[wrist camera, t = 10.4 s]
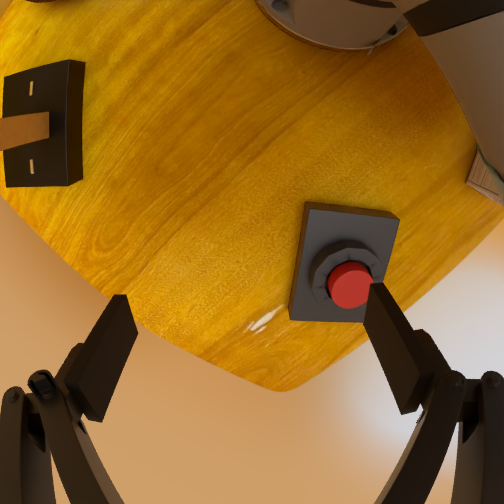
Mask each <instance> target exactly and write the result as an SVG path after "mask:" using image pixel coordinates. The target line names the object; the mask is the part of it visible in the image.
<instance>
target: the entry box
mask: <svg viewBox="0 0 504 504" xmlns="http://www.w3.org/2000/svg"><path fill="white" fill-rule="evenodd" d="M399 222H400V219H398V218H397V217H396V216H395V215H394V214H392V213H391V212H385V211H378V210H371V209H363V208H356V207H348V206H340V205H331V204H323V203H314V202H305V208H304V214H303V221H302V228H301V234H300V241H299V247H298V253H297V259H296V265H295V271H294V277H293V283H292V288H291V294H290V300H289V305H288V311H289V318H290V320H296V321H320V322H360V323H364V317H365V312H366V306H367V301H366V302H365V303H364V304H362V305H360V306H358V307H355V308H349V309H348V308H342V307H340V306H338V305H337V304H335V302H334V301H333V299H332V297H331V294H330V291H329V289H328V278H329V275H330V273H331V272H332V271H333V269H334V268H335V267H337V266H338V265H340V264H342V263H345V262H350V261H353V262H358V263H360V264H362V265H363V266H364V267H365V268H366V269H367V271H368V273H369V274H370V276H371V277H372V279H373V283H382V282H383V280H384V276H385V273H386V270H387V266H388V263H389V259H390V256H391V252H392V249H393V245H394V241H395V237H396V234H397V230H398V226H399Z"/></svg>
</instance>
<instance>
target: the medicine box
mask: <svg viewBox="0 0 504 504" xmlns="http://www.w3.org/2000/svg"><path fill="white" fill-rule="evenodd" d="M466 184H467V185H469V186H471V187H472V188H474V189H475V190H477V191H478V192H480V193H481V194H483V195H484V196H486V197H487V198H489V199H491V200H493V201H495V202H497V203H499V204H501V205H503V204H502V202H501V200H500V197H499V195H498V192H497V189H496V187H495V184H494V182H493V179H492V177H491V174H490V173H489V172H488V170H487V169H486V167H485V166H484V164H483V162H482V160H481V158H480V156H479V153H478V151H477V154H476V156H475V159H474V162H473V165H472V168H471V171H470V173H469V176H468V179H467V181H466Z"/></svg>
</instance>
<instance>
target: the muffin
mask: <svg viewBox="0 0 504 504" xmlns="http://www.w3.org/2000/svg"><path fill="white" fill-rule="evenodd" d="M26 1H30V2H34V3H42V2H53V1H55V0H26Z"/></svg>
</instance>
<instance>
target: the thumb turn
mask: <svg viewBox="0 0 504 504" xmlns="http://www.w3.org/2000/svg"><path fill="white" fill-rule="evenodd" d="M46 138H49V112H42V113H34V114H26V115H19V116H13V117H6V118H1V119H0V151H2V150H5V149H9V148H12V147H16V146H19V145H23V144H26V143H30V142H34V141H38V140H42V139H46Z"/></svg>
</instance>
